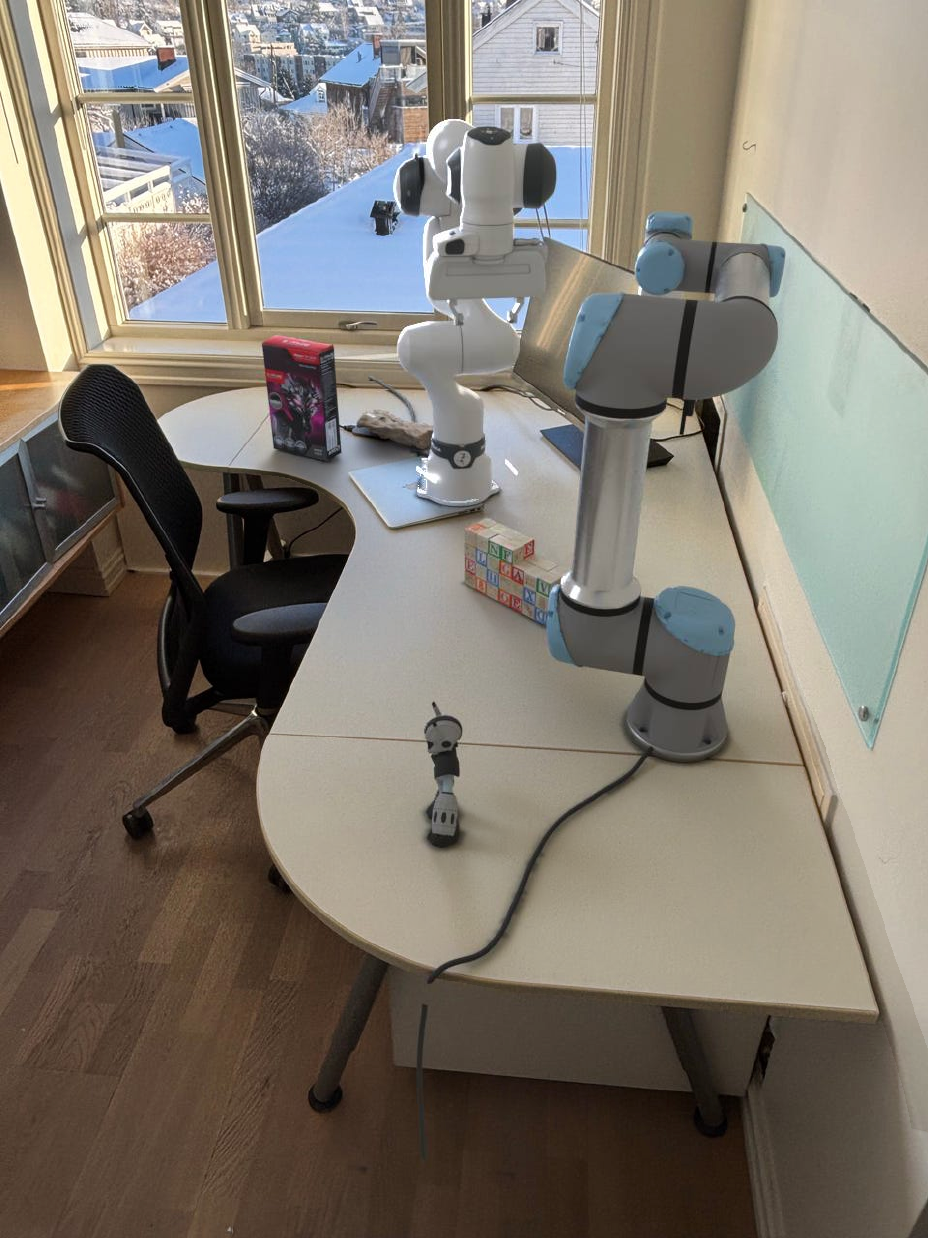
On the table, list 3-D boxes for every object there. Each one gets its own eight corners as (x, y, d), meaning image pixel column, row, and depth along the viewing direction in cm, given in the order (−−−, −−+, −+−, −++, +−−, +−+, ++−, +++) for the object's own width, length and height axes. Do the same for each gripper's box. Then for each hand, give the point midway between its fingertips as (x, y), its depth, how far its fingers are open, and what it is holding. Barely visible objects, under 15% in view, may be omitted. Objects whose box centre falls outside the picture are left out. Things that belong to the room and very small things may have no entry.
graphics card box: (271, 449, 231) (258, 341, 215) (288, 440, 236) (276, 333, 220) (327, 463, 224) (318, 352, 209) (343, 453, 229) (336, 344, 214)
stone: (340, 433, 232) (345, 409, 229) (362, 424, 245) (367, 402, 243) (418, 457, 228) (423, 433, 226) (436, 447, 241) (441, 425, 239)
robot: (465, 880, 118) (466, 765, 107) (427, 882, 118) (424, 766, 107) (458, 774, 134) (458, 664, 123) (424, 775, 134) (422, 665, 123)
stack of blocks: (569, 614, 170) (573, 556, 163) (546, 628, 166) (550, 569, 159) (485, 571, 183) (487, 516, 176) (463, 583, 179) (463, 527, 172)
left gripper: (543, 233, 156) (539, 316, 164) (424, 236, 153) (425, 320, 161) (552, 241, 151) (548, 326, 159) (429, 245, 148) (430, 331, 156)
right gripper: (734, 310, 158) (714, 428, 170) (589, 299, 163) (580, 413, 175) (733, 322, 152) (712, 443, 164) (583, 310, 157) (573, 428, 169)
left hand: (485, 323), depth 160 cm, fingers open, 8 cm apart
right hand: (644, 428), depth 169 cm, fingers open, 13 cm apart
